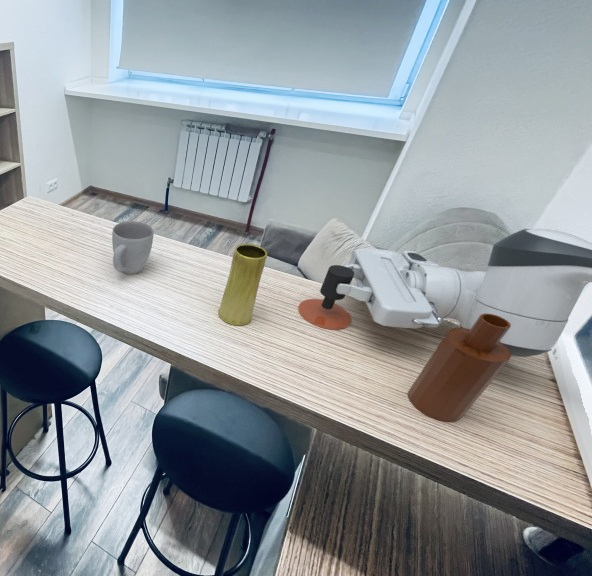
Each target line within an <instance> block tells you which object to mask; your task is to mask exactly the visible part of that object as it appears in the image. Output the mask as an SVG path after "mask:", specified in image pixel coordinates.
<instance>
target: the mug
mask: <svg viewBox="0 0 592 576" xmlns="http://www.w3.org/2000/svg"><path fill="white" fill-rule="evenodd" d="M111 233H112V235H111V241H112V251H113V256H112V264H113V268H114V269H115V271H118V272H121V273H123V274H127V275H135V274H137V275H138V274H139V273H141V272H142V271H143V269H144V266H145V265H146V263H147V262H148V260H149V257H150V255H151V251H152V248H153V241H154V229H153V227H152V226H151V225H150V224H148V223H145V222H141V221H137V220H136V221H135V220H128V221H122V222H119V223H117V224H116V225H114V226H113V228H112V231H111Z"/></svg>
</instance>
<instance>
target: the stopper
mask: <svg viewBox="0 0 592 576" xmlns="http://www.w3.org/2000/svg"><path fill="white" fill-rule="evenodd" d="M353 276H354V272H353V271H352V270H351V269H349V268H347V267H345V265H339V264H332V265H330V266H329V267H328V269H327V271H326V274H325V278H324V280H323V282H322V284H321V286H320V290H319V292H320V294H321V295H322V296H323V299H322V300H323V303H322V307H323V308H325V309H332V307H333V305H334V303H335V302H336V301H342V300H343V299H345V297H346V295H345V294H338V293H337V291H336V288H335V286H336V284H337V282H338V281H343V282H349V283H350V284H351V283H352V281H353V279H354V278H353ZM335 304H336V303H335Z"/></svg>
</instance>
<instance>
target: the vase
mask: <svg viewBox="0 0 592 576" xmlns="http://www.w3.org/2000/svg"><path fill="white" fill-rule="evenodd" d="M267 258H268V251H267V250H266V249H265V248H264V247H262V246H259V245H256V244H252V243H242V244H238V245H236V247H235V248H234V251H233V255H232V259H231V264H230V269H229V273H228V278H227V282H226V284H225V288H224V290H223V295H222V298H221V302H220V305H219V309H218V310H217V313H218V316H219V318H220V319H221V320H222V321H223V322H225V323H227V324H229V325H232V326H245V325H248V324H250V322H251V321H252V319H253V312H254V307H255V303H256V299H257V295H258V290H259V286H260V283H261V282H260V281H261V278H262V275H263V272H264V268H265V264H266V261H267Z"/></svg>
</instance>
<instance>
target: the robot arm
mask: <svg viewBox="0 0 592 576" xmlns="http://www.w3.org/2000/svg"><path fill="white" fill-rule="evenodd" d="M344 266H345V267H347V268H349V269H351V270H352V271H353V272H354V276H353V279H355V281H356V284H357V285H355V284H351V283H349V282H343V281H338V282H337V284H336V286H335V288H336V291H337V293H338V294H345V296H346V295H347V296H348V297H351V298H353V299H355V300H357V301H359V302H365V304H366V307H367V308H368V311H369V313H370V316H371V318H372V320H373V322H375V323H377V324H379V325H381V326H384V327H390V328H391V327H392V328H402V329H420V328H423V327H426V328H432V329H434V328H435V329H436V328H437V327H440V326H441V325H442V324H443V322H444V319H451V320H452V319H453V320H456V321H458V323H459V324H458V325H459V328H467V329H471V328H472V326H473V325H474V324H475V322H476V321H477V319H478V318H479V316H480V315H482V314H484V313H485V314H493V315H497V316H500V317H502V318H504V319H505V320H507V321H508V322H509V323H510V324H511V327H510V328H509V330H508V331H507V332H506V334H505V335H504V336H503V338H502V339H501V340H500V342H501V343H502V344H504V345H505V346H506V347H507V348H508V349H509V351H510V353H511V357H519V358H527V357H533V356H539V355H543V354H546V353H548V352H551V351H552V350H553V348H554V347H555V345H556V344H557V342H558V341H559V339H560V337H561V335H562V334H563V333H564V332H563V331H564V330H565V328H566V326H567V324H568V322H569V317H570V316H571V313H572V312H573V311H574V308H575V306H576V304H577V302H578V300H579V298H580V296H581V294H582V292H583V291H584V289H585V287H586V286H587V285H588V284H589V283H592V242H590V241H588V240H586V239H583V238H581V237H579V236H576V235H574V234H571V233H568V232H564V231H559V230H555V229H546V228H523V229H521V230H518V231H516V232H513V233H511V234H508V235H507V236H506V237H504V238H502V239H500V240H499V241H497V242H495V243H494V244H493V246H492V250H491V253H490V257H489V260H488V264H487V266H488V267H487V270H486V271H481V270H475V271H463V270H460V269H458V268H454V267H448V266H440V265H439V264H438V263H436V262H433V261H431V260H429V259H428V258H425V257H424V256H423V255H421V254H419V253H418V252H417V251H414V250H403V251H402V252H401V253H400V252H398V251H395V250H390V249H381V248H372V247H371V248H370V247H360V248H356V249H354V250H353V251H352V253H351V255H350V258H349V261H348V264H345V265H344Z"/></svg>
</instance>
